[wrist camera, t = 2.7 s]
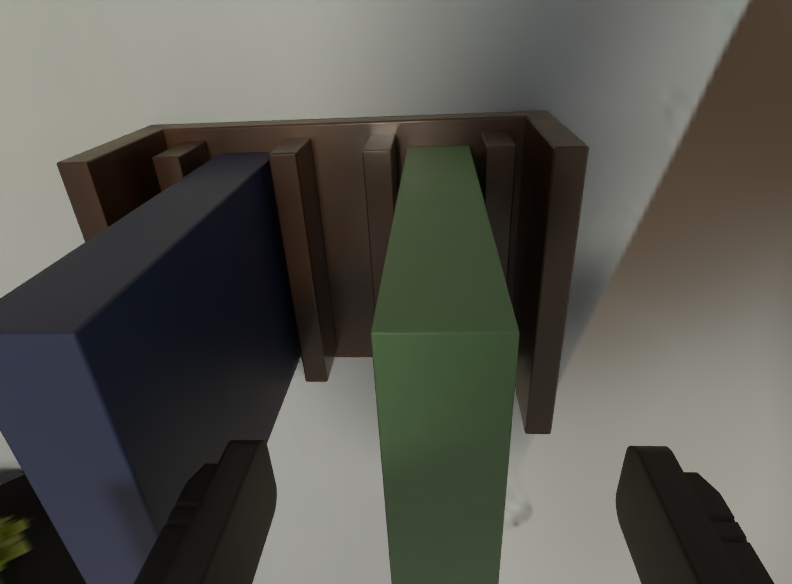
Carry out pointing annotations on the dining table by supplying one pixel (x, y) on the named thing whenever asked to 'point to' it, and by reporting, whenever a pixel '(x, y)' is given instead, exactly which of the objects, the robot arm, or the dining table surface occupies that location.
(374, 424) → the dining table surface
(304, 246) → the book rack
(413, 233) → the green book
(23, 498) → the potted plant
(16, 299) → the navy book
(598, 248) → the dining table surface
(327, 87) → the dining table surface
